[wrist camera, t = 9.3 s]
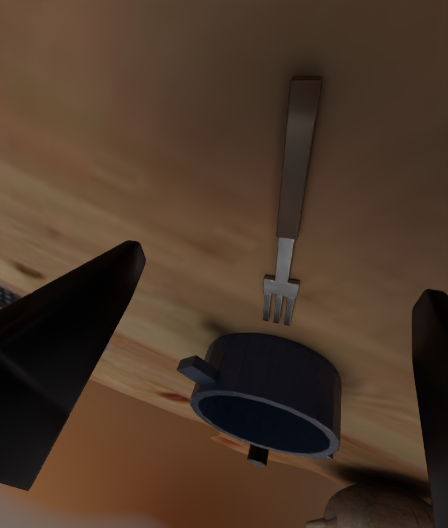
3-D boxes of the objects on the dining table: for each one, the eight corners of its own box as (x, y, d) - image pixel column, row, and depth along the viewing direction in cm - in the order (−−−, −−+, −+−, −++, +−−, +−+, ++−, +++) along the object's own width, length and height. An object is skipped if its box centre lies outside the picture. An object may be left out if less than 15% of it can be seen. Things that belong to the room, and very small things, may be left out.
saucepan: (254, 298, 23) (236, 362, 19) (384, 408, 29) (390, 473, 25) (166, 336, 32) (142, 385, 28) (280, 414, 38) (272, 462, 34)
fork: (291, 324, 23) (281, 396, 16) (261, 318, 24) (238, 384, 16) (328, 113, 18) (339, 73, 11) (290, 112, 19) (276, 72, 11)
